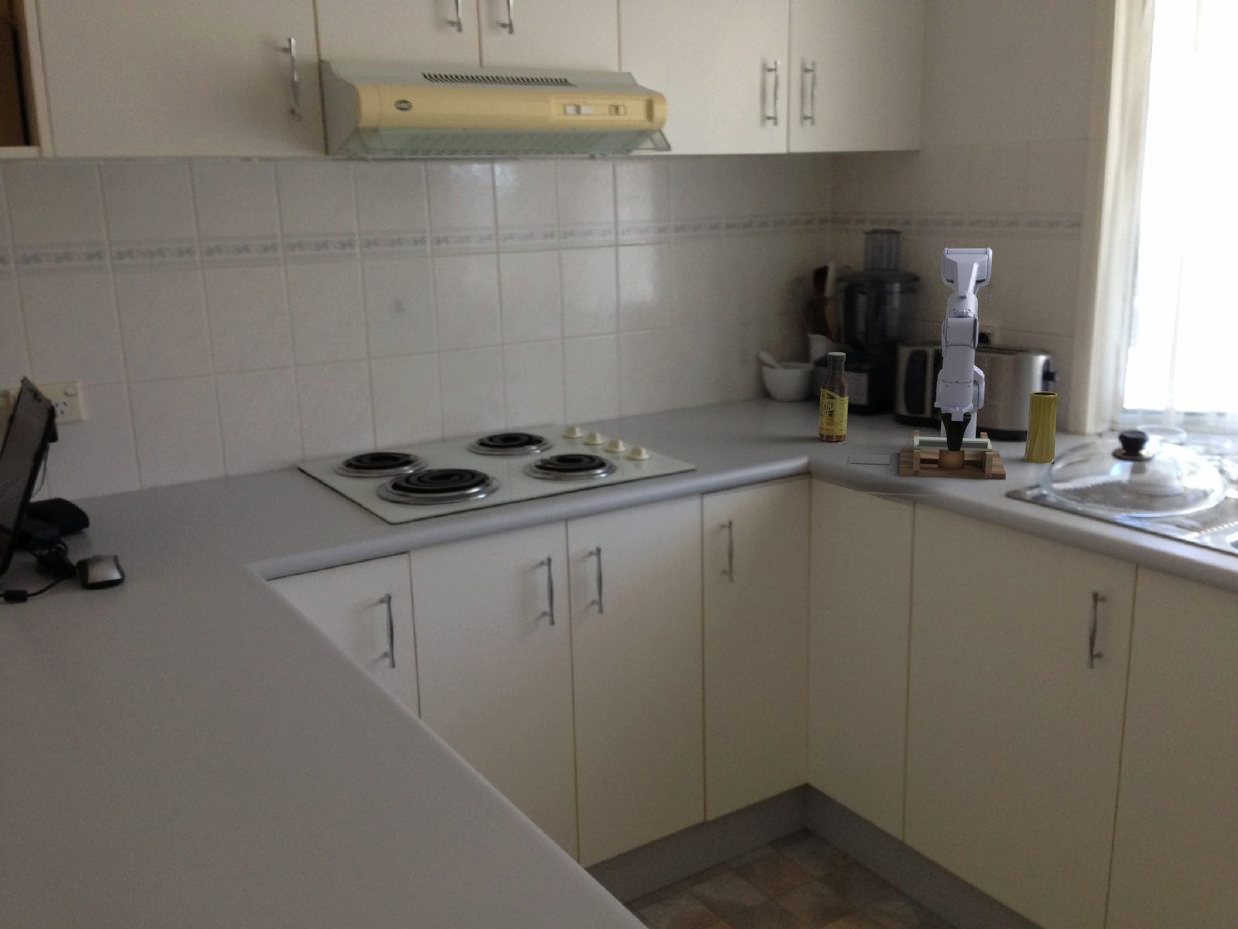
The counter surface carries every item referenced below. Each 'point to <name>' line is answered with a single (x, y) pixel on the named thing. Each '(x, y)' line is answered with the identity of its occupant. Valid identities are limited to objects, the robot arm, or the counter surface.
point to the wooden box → (974, 467)
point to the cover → (941, 444)
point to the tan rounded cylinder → (951, 459)
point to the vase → (1041, 427)
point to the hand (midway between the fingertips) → (953, 450)
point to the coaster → (870, 459)
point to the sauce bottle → (834, 400)
